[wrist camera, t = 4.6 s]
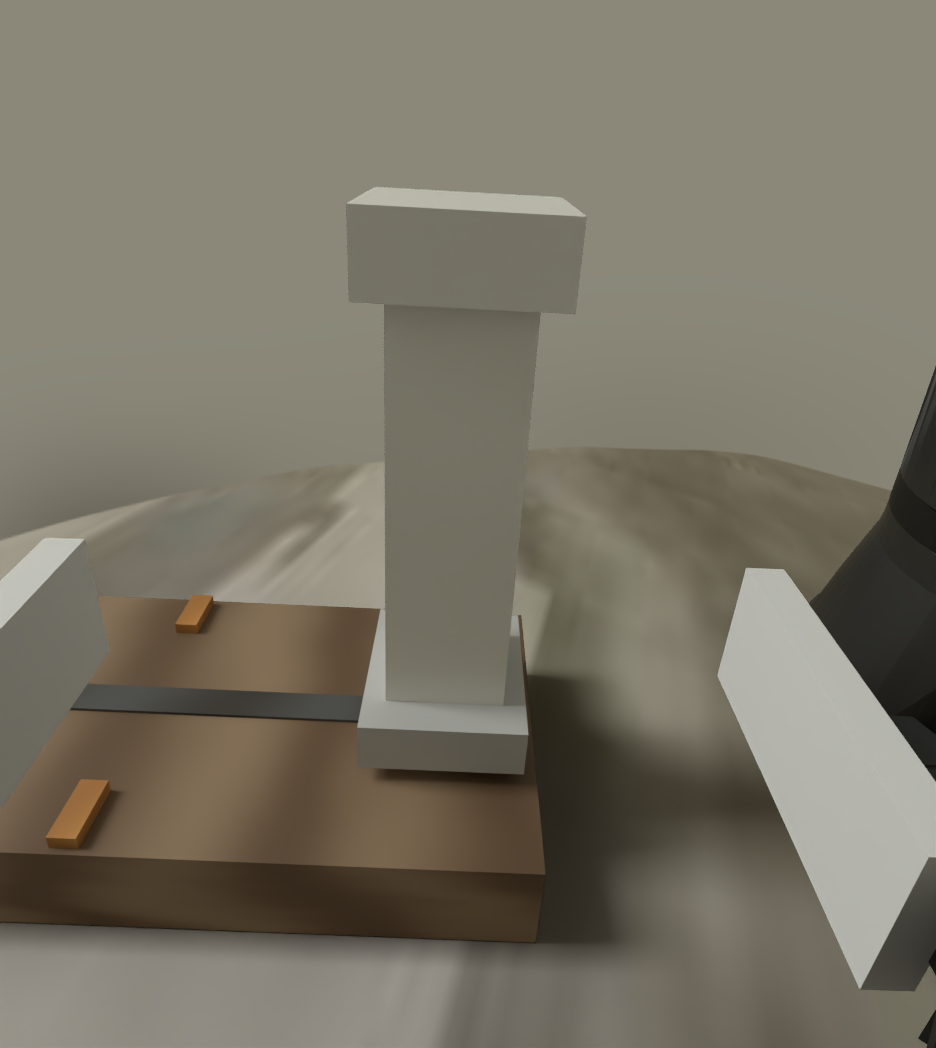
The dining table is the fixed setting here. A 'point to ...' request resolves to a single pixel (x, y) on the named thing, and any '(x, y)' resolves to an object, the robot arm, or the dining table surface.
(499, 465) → the fader knob
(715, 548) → the dining table surface
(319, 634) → the fader console
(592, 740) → the dining table surface
